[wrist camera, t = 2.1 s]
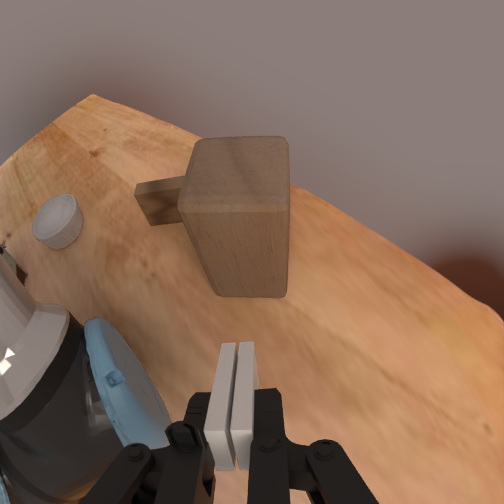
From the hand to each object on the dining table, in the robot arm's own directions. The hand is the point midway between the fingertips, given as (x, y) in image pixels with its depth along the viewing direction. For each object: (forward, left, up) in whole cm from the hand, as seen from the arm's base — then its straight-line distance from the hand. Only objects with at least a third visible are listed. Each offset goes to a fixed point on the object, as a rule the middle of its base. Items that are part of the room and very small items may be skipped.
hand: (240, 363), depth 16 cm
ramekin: (-37, +30, -22) cm, 53 cm away
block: (0, +18, -22) cm, 29 cm away
